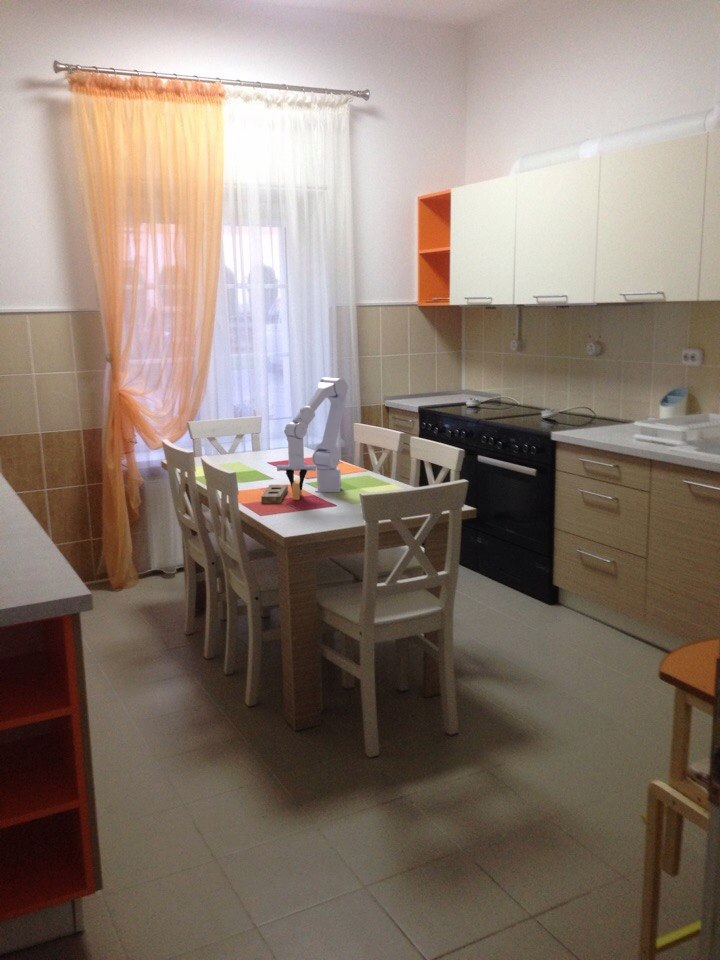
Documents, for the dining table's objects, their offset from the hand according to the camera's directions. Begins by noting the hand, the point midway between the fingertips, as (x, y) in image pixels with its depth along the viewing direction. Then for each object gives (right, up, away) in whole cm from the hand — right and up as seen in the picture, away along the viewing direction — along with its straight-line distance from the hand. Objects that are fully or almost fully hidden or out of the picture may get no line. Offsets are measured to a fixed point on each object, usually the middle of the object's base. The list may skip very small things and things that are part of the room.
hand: (297, 489), depth 313 cm
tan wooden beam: (0, -3, +1) cm, 3 cm away
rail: (-8, -3, +1) cm, 9 cm away
